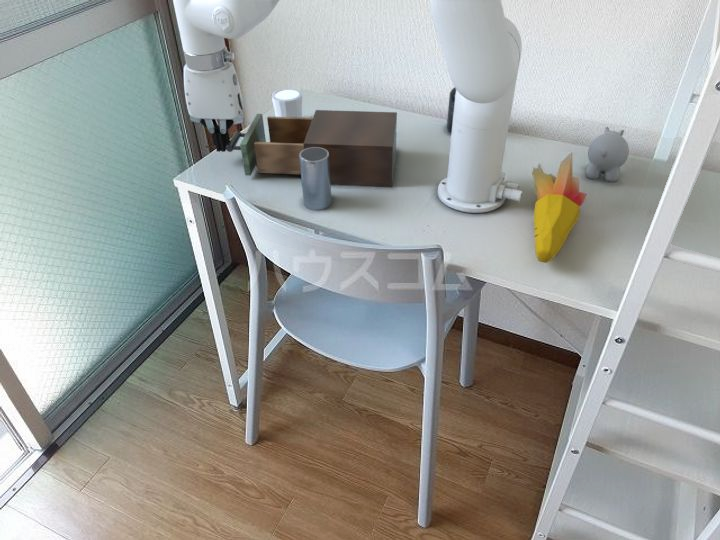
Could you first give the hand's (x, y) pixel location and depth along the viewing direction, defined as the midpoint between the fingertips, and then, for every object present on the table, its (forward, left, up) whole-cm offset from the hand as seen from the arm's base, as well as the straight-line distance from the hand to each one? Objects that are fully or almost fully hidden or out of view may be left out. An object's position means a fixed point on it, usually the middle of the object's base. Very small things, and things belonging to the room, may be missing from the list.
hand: (222, 148), depth 118 cm
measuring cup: (-25, +5, -3) cm, 26 cm away
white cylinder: (-3, -21, -3) cm, 21 cm away
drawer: (-11, -4, -2) cm, 12 cm away
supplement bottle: (-40, -34, -3) cm, 52 cm away
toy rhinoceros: (-71, -29, -3) cm, 77 cm away
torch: (-65, -4, -3) cm, 65 cm away
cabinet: (-25, -9, -3) cm, 27 cm away
